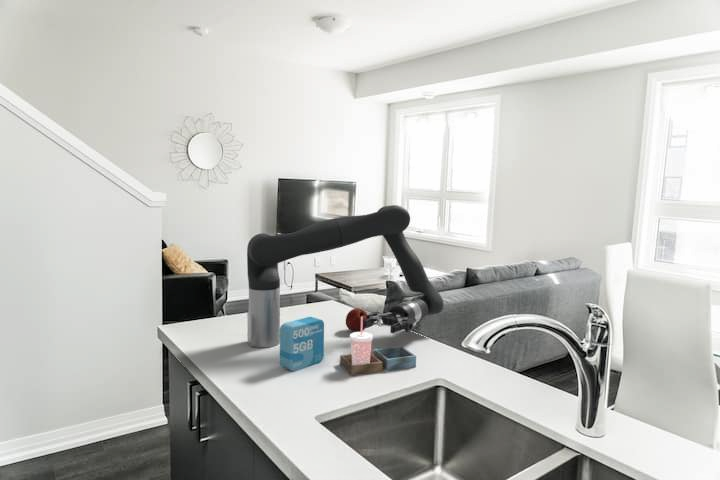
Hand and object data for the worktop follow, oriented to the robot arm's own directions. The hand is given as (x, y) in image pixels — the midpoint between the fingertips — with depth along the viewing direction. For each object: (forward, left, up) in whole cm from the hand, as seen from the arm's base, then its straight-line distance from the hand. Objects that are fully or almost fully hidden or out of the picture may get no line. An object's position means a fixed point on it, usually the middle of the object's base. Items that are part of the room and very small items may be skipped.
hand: (378, 327), depth 137 cm
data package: (-21, +2, -9) cm, 23 cm away
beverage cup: (-7, -5, -9) cm, 13 cm away
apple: (+4, +25, -9) cm, 27 cm away
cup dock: (-2, -5, -9) cm, 11 cm away
